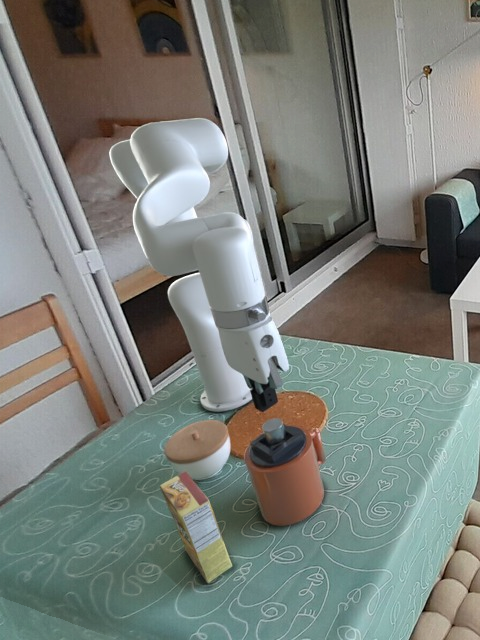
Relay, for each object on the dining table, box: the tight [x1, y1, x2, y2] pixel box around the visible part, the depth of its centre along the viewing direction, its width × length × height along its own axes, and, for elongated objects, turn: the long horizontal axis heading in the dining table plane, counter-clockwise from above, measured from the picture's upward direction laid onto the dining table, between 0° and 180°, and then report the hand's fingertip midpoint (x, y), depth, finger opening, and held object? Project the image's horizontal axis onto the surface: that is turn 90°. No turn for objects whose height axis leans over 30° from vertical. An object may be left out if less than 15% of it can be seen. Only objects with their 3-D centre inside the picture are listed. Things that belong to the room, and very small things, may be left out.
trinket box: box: [163, 419, 232, 481], centre depth 97 cm, size 11×11×9 cm
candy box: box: [159, 471, 233, 584], centre depth 79 cm, size 9×4×15 cm, turn 50°
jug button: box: [262, 418, 286, 445], centre depth 85 cm, size 3×3×3 cm
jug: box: [243, 423, 327, 527], centre depth 90 cm, size 11×14×15 cm
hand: (267, 405), depth 83 cm, fingers closed
